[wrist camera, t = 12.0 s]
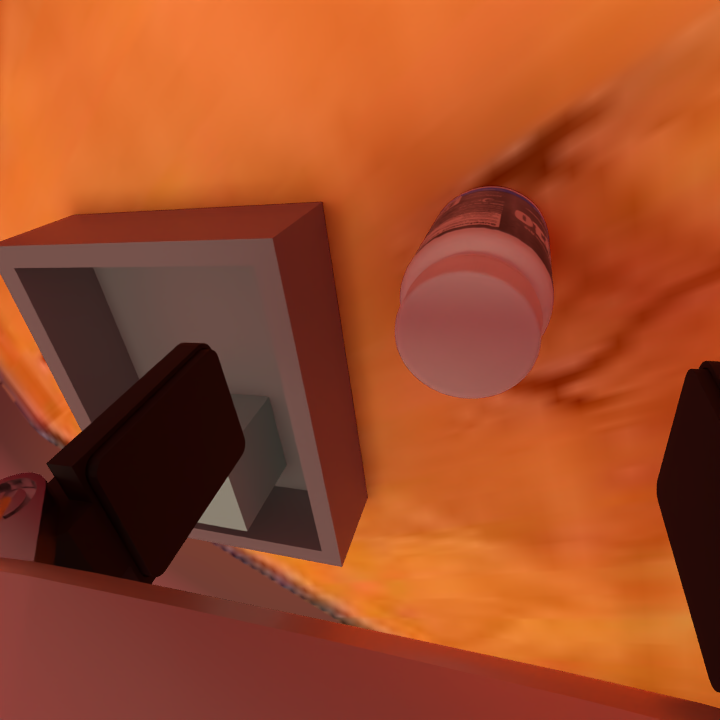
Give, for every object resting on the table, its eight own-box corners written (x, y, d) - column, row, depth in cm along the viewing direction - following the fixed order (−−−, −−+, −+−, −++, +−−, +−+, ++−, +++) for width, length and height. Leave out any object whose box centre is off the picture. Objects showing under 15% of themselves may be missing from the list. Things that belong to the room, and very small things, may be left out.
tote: (367, 497, 30) (342, 566, 26) (178, 470, 35) (131, 526, 31) (322, 201, 21) (272, 238, 17) (73, 215, 26) (-14, 246, 21)
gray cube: (286, 464, 29) (247, 531, 25) (215, 455, 31) (167, 517, 27) (269, 396, 27) (222, 458, 23) (191, 390, 28) (135, 447, 24)
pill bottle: (559, 281, 20) (572, 400, 13) (448, 306, 22) (411, 421, 15) (535, 165, 18) (536, 235, 11) (416, 204, 20) (356, 283, 13)
